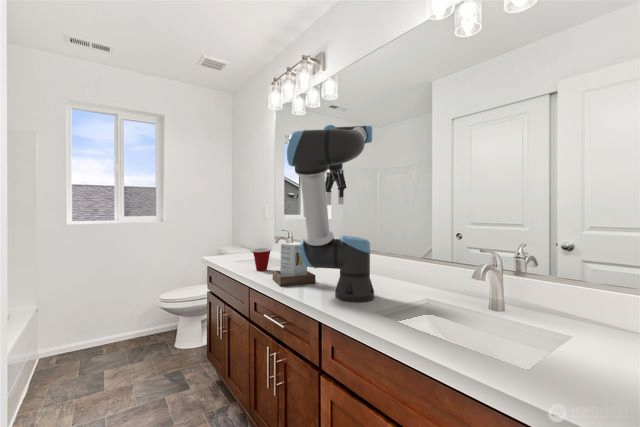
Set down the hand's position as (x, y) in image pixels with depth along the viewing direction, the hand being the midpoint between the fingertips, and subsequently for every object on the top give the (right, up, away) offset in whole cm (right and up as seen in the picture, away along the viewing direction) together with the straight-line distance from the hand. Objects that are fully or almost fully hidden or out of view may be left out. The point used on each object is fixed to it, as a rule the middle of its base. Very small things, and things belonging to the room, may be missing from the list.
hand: (334, 204), depth 148 cm
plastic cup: (-40, -36, +23) cm, 59 cm away
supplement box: (-19, -36, -4) cm, 41 cm away
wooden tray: (-19, -36, -4) cm, 41 cm away
